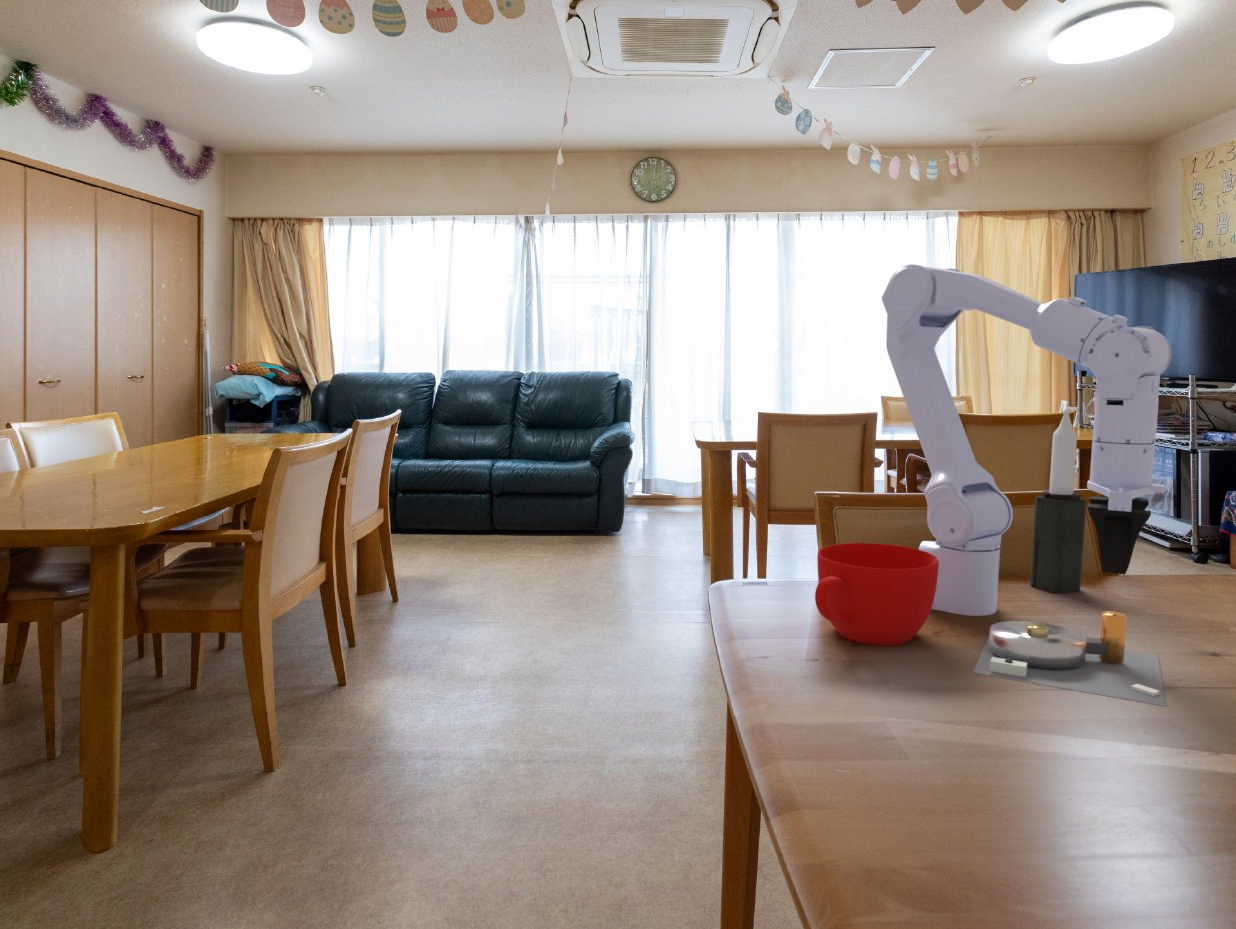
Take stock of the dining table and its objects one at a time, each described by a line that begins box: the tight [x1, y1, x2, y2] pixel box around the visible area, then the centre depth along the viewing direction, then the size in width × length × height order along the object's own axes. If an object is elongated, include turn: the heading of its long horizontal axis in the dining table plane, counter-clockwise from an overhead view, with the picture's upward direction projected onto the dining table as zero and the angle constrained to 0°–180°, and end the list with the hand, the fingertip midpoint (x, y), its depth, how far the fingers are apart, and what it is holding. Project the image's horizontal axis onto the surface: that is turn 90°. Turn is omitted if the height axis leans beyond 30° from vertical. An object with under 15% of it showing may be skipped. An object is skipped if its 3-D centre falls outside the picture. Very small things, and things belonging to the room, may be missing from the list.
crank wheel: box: [988, 610, 1128, 668], centre depth 86 cm, size 13×9×5 cm
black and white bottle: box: [1029, 408, 1087, 594], centre depth 116 cm, size 5×5×25 cm
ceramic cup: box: [814, 542, 939, 646], centre depth 93 cm, size 13×17×10 cm
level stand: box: [972, 634, 1167, 707], centre depth 85 cm, size 16×15×2 cm
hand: (1113, 567), depth 90 cm, fingers open, 5 cm apart
